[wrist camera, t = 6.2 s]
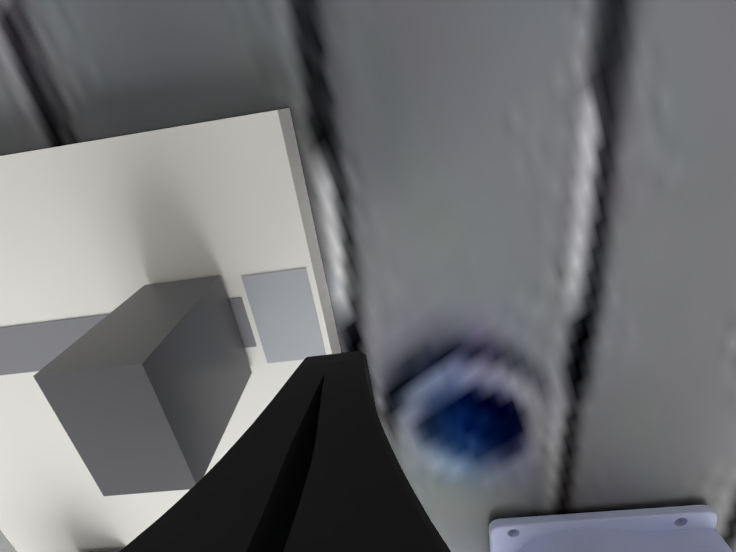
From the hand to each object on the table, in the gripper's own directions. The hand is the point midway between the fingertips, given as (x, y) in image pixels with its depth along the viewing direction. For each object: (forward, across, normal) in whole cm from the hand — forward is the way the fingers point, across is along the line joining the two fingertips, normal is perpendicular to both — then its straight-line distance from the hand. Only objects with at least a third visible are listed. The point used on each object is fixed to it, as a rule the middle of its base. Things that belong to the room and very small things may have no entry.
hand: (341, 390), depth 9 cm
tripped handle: (+4, +5, 0) cm, 6 cm away
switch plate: (+5, +9, +6) cm, 12 cm away
